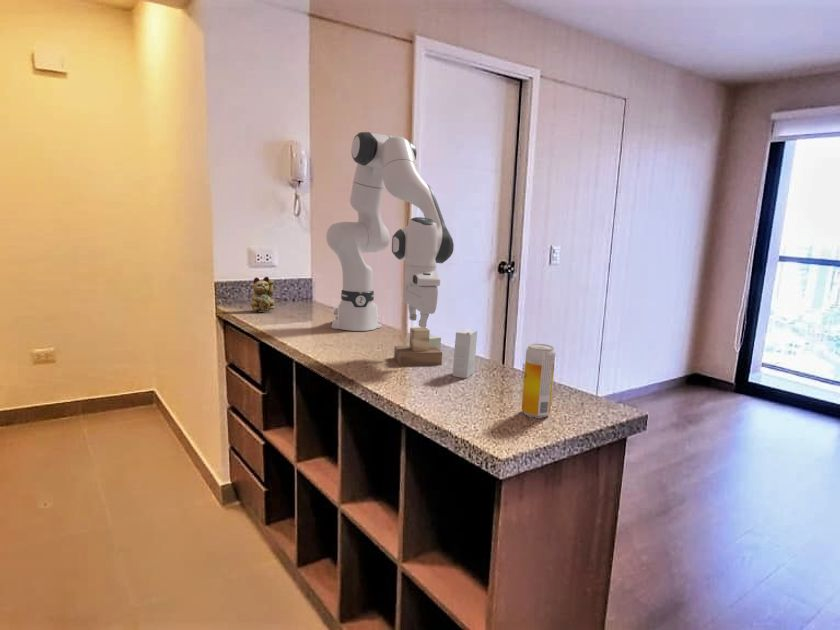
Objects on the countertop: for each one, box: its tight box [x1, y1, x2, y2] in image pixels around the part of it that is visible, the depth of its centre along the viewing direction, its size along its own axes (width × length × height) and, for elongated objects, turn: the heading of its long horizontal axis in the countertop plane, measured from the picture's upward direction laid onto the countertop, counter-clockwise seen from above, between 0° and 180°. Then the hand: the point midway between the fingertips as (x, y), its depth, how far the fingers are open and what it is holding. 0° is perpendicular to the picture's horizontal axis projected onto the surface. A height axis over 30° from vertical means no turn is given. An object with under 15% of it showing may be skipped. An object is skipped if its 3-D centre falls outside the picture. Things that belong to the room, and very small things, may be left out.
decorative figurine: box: [250, 276, 275, 313], centre depth 225 cm, size 10×8×15 cm
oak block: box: [408, 326, 431, 351], centre depth 155 cm, size 4×4×6 cm
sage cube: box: [429, 334, 442, 351], centre depth 168 cm, size 5×5×5 cm
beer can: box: [521, 343, 556, 419], centre depth 115 cm, size 6×6×15 cm
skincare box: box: [452, 328, 478, 379], centre depth 143 cm, size 6×4×12 cm
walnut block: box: [393, 345, 443, 367], centre depth 156 cm, size 9×12×4 cm
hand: (417, 323), depth 155 cm, fingers open, 8 cm apart
